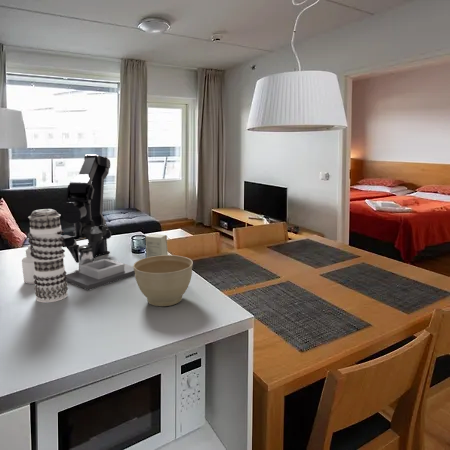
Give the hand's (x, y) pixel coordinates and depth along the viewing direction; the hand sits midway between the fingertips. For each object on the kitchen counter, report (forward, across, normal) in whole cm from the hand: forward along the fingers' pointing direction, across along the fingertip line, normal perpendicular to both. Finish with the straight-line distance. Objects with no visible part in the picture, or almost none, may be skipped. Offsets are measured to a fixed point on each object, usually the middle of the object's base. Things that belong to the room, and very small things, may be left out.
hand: (85, 260), depth 134 cm
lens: (+2, 0, 0) cm, 2 cm away
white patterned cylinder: (+2, -22, -17) cm, 28 cm away
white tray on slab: (+2, -3, -14) cm, 14 cm away
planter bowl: (+2, -4, -44) cm, 44 cm away
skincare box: (+2, +13, -23) cm, 27 cm away
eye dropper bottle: (+2, -20, -1) cm, 20 cm away
